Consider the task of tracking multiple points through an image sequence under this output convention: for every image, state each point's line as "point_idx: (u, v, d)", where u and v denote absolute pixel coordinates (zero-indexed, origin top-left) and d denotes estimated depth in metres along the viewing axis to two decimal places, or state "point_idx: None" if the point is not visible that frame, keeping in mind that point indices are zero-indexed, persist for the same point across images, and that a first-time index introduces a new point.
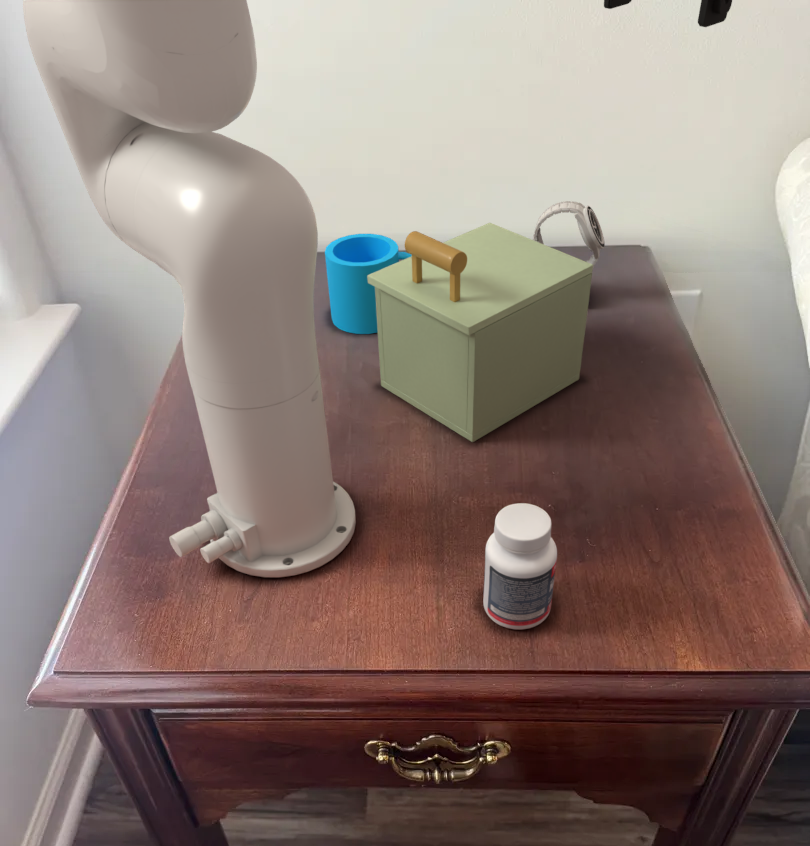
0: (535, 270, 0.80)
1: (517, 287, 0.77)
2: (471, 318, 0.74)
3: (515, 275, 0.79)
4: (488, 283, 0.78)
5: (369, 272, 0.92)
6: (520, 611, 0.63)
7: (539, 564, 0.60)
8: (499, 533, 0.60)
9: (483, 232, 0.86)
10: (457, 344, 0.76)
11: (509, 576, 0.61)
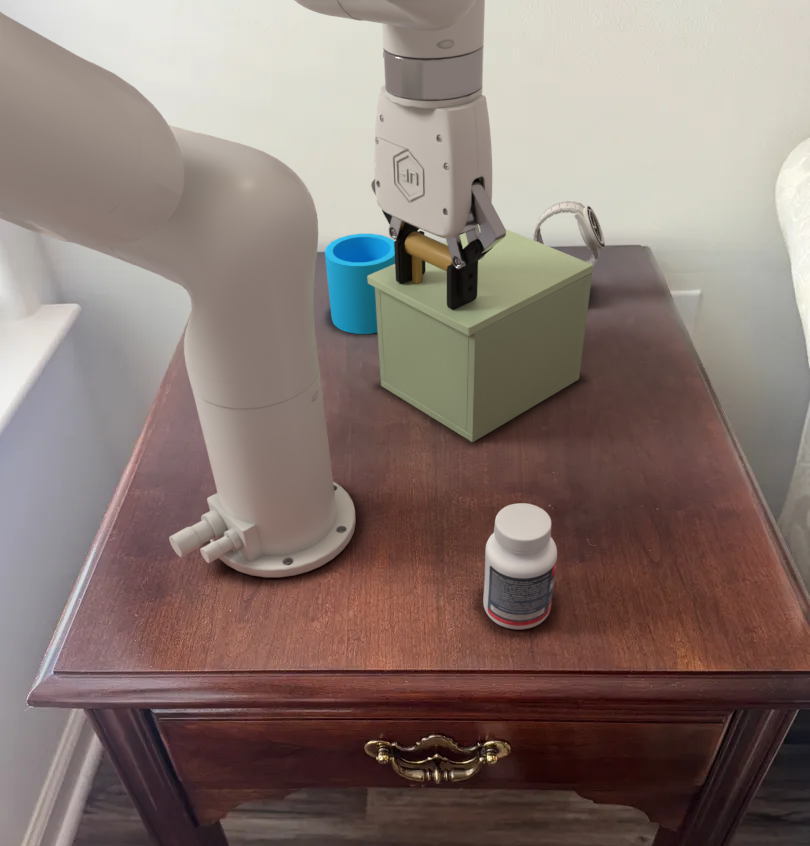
0: (535, 270, 0.80)
1: (517, 287, 0.77)
2: (471, 318, 0.74)
3: (515, 275, 0.79)
4: (488, 283, 0.78)
5: (369, 272, 0.92)
6: (520, 611, 0.63)
7: (539, 564, 0.60)
8: (499, 533, 0.60)
9: None
10: (457, 344, 0.76)
11: (509, 576, 0.61)
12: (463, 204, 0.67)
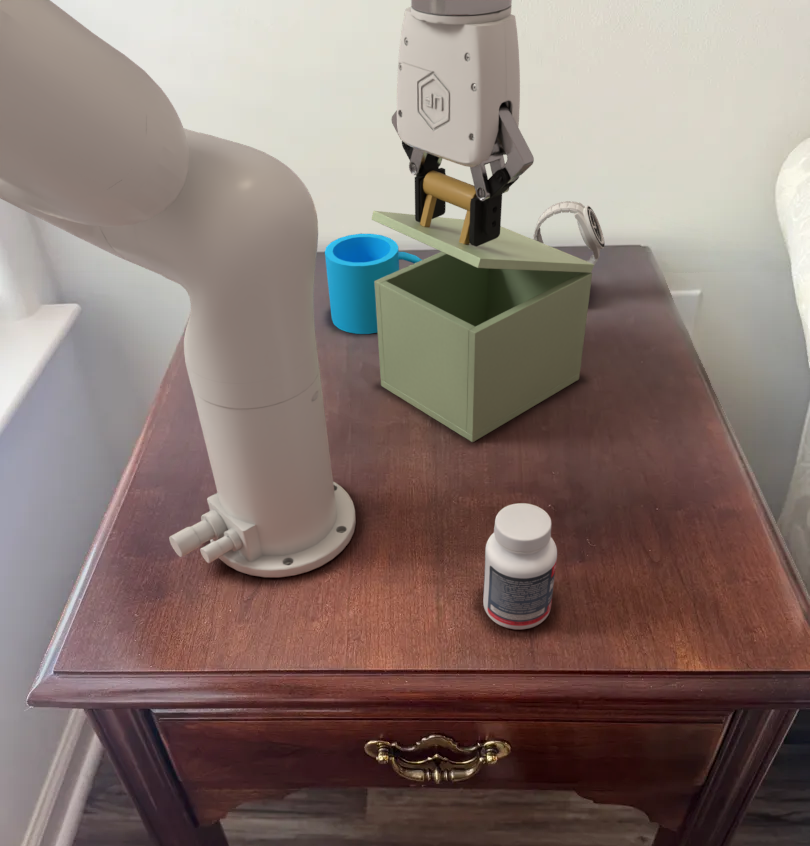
0: (539, 252, 0.79)
1: (524, 254, 0.76)
2: (482, 255, 0.70)
3: (521, 249, 0.78)
4: (495, 245, 0.76)
5: (369, 272, 0.92)
6: (520, 611, 0.63)
7: (539, 564, 0.60)
8: (499, 533, 0.60)
9: None
10: (457, 344, 0.76)
11: (509, 576, 0.61)
12: (490, 129, 0.65)
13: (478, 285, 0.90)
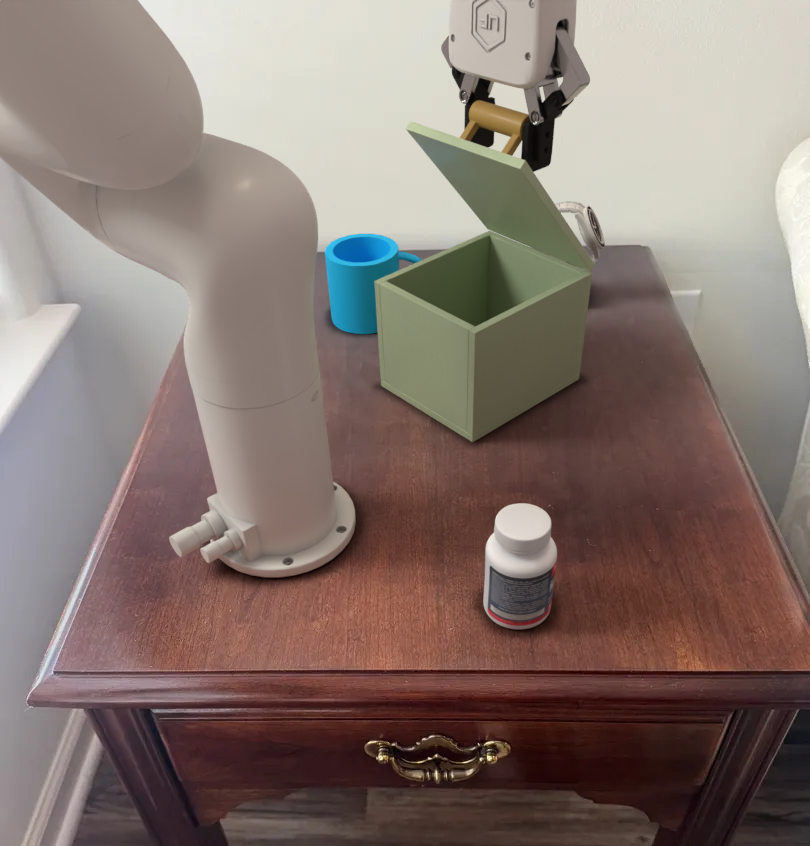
0: None
1: None
2: None
3: None
4: None
5: (369, 272, 0.92)
6: (520, 611, 0.63)
7: (539, 564, 0.60)
8: (499, 533, 0.60)
9: None
10: (457, 344, 0.76)
11: (509, 576, 0.61)
12: (547, 48, 0.65)
13: (478, 285, 0.90)
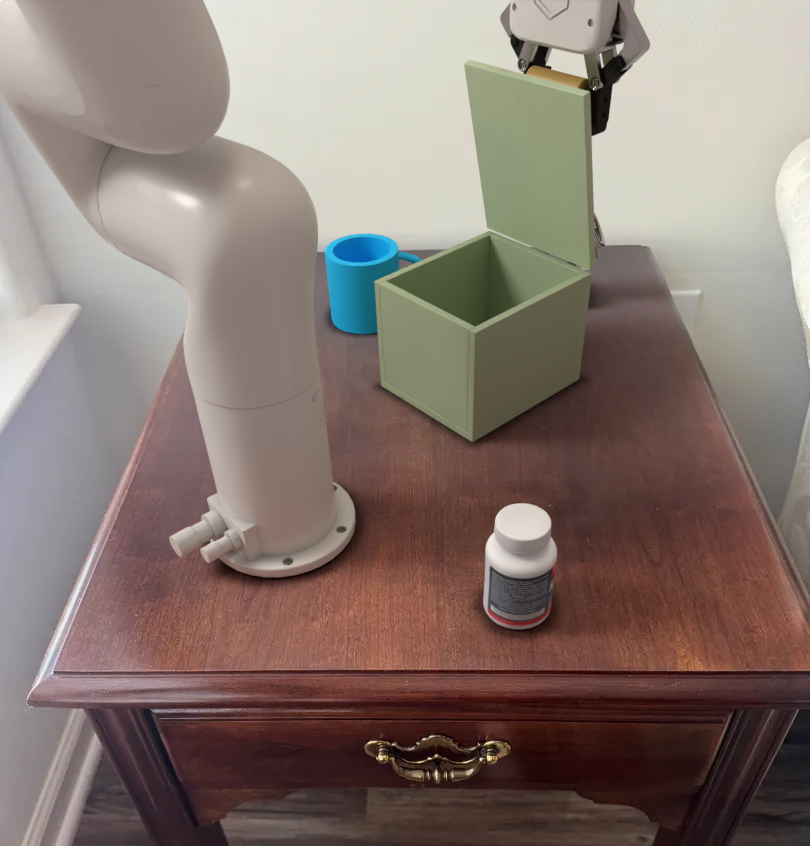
0: None
1: None
2: None
3: None
4: None
5: (369, 272, 0.92)
6: (520, 611, 0.63)
7: (539, 564, 0.60)
8: (499, 534, 0.60)
9: None
10: (457, 344, 0.76)
11: (509, 576, 0.61)
12: (609, 14, 0.67)
13: (478, 285, 0.90)
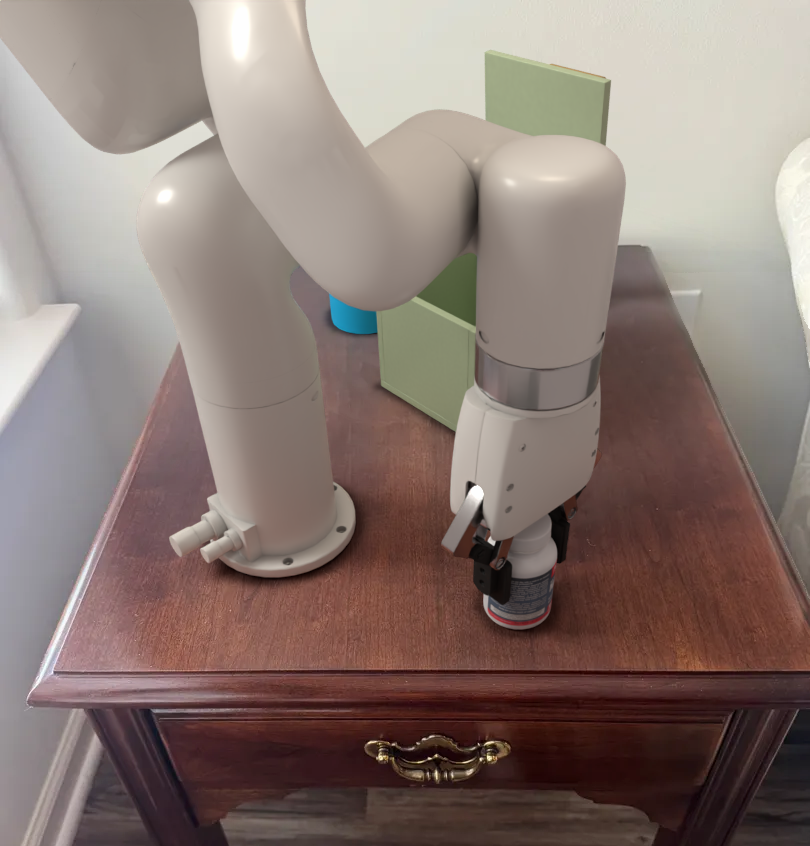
0: None
1: None
2: None
3: None
4: None
5: None
6: (520, 611, 0.63)
7: (539, 564, 0.60)
8: None
9: None
10: (457, 344, 0.76)
11: None
12: (456, 491, 0.56)
13: None
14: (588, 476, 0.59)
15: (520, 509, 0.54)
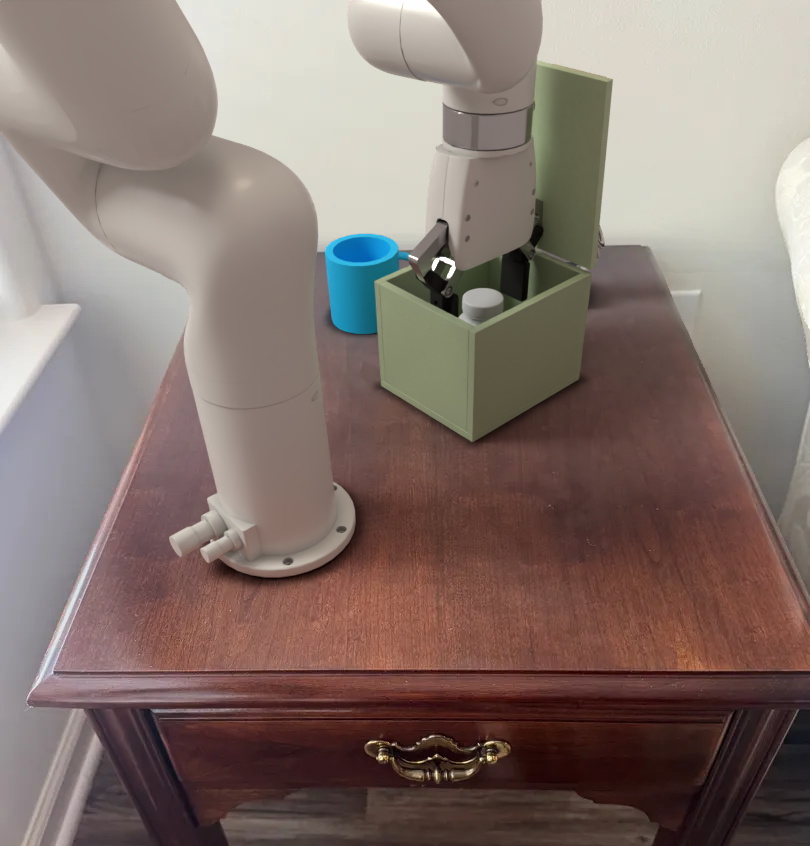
0: None
1: None
2: None
3: None
4: None
5: (369, 272, 0.92)
6: None
7: None
8: (465, 305, 0.82)
9: None
10: (457, 344, 0.76)
11: None
12: (429, 232, 0.75)
13: (478, 285, 0.90)
14: (529, 233, 0.79)
15: (476, 241, 0.74)
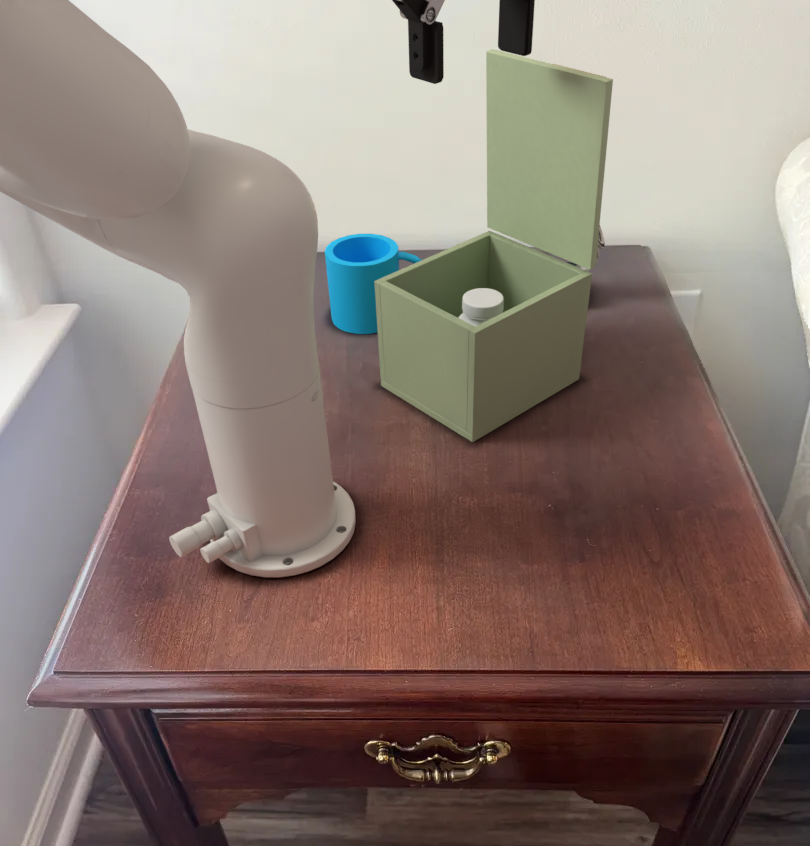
0: None
1: None
2: None
3: None
4: None
5: (369, 272, 0.92)
6: None
7: None
8: (465, 305, 0.82)
9: None
10: (457, 344, 0.76)
11: None
12: None
13: (478, 285, 0.90)
14: None
15: None
